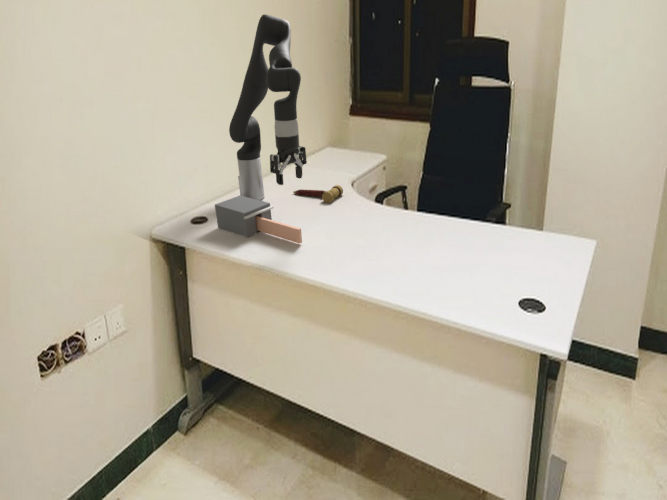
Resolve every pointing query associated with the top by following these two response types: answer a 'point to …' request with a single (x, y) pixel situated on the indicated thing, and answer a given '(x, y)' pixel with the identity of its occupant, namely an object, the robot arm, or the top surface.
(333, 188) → the gavel
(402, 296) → the top surface
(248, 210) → the dispenser
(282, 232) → the ticket strip
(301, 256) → the top surface
